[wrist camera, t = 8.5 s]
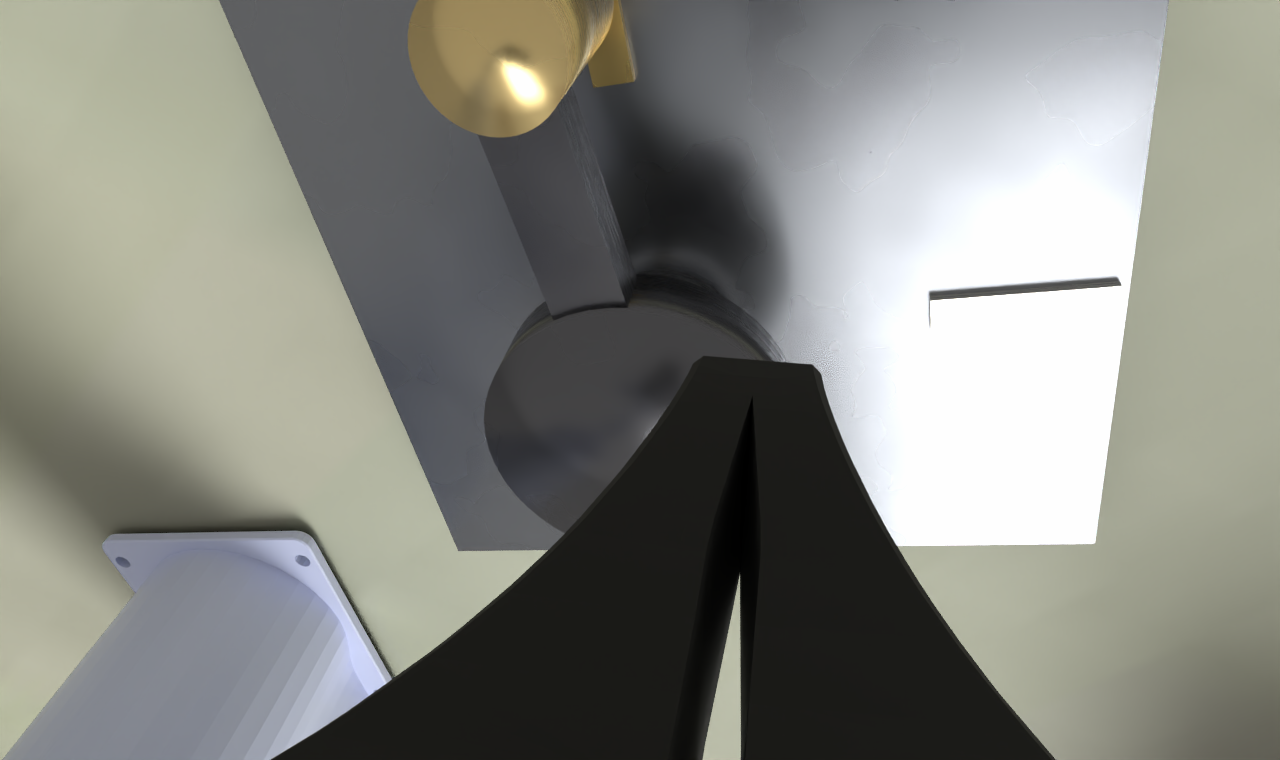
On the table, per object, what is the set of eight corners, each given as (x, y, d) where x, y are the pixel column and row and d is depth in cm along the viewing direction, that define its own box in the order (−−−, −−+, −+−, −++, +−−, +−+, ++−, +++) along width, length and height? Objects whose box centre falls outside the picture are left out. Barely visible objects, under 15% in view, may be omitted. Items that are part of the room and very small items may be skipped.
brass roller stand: (823, 433, 20) (822, 544, 18) (582, 462, 22) (546, 567, 19) (692, -129, 14) (660, -94, 11) (372, -25, 16) (276, 27, 13)
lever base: (1083, 509, 23) (1120, 622, 20) (471, 521, 27) (429, 616, 24) (1185, -323, 13) (1284, -338, 10) (214, -103, 17) (93, -70, 14)
